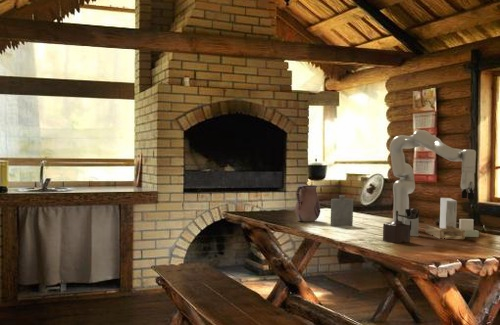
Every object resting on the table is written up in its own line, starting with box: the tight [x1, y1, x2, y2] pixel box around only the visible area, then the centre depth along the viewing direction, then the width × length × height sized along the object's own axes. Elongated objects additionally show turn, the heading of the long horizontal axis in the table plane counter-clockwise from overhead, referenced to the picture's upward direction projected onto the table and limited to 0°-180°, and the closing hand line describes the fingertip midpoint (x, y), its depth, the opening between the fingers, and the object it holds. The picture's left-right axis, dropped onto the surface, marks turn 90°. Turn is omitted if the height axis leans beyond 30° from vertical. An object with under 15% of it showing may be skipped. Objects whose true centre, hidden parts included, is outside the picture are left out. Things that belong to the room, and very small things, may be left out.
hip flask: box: [329, 194, 354, 227], centre depth 371 cm, size 16×4×20 cm, turn 110°
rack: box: [425, 224, 466, 240], centre depth 334 cm, size 14×26×5 cm, turn 0°
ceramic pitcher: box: [294, 184, 321, 223], centre depth 391 cm, size 18×21×25 cm
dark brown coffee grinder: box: [382, 208, 418, 244], centre depth 304 cm, size 16×11×18 cm
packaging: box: [439, 197, 458, 228], centre depth 364 cm, size 30×6×20 cm, turn 168°
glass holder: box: [402, 208, 420, 237], centre depth 331 cm, size 9×14×15 cm, turn 131°
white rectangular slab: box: [458, 218, 475, 231], centre depth 337 cm, size 8×2×10 cm, turn 91°
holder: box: [465, 229, 480, 238], centre depth 337 cm, size 12×8×4 cm, turn 90°
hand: (467, 198), depth 337 cm, fingers open, 9 cm apart
